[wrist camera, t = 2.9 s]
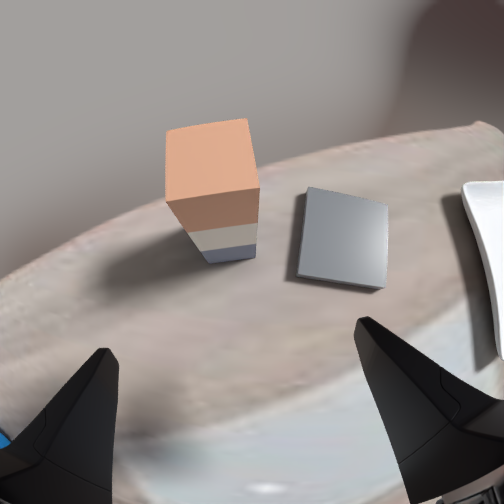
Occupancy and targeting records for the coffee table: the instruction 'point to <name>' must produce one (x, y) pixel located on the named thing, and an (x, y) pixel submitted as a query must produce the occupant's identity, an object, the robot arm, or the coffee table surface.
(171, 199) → the brick stack
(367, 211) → the baseplate
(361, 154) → the coffee table surface
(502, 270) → the salad plate
